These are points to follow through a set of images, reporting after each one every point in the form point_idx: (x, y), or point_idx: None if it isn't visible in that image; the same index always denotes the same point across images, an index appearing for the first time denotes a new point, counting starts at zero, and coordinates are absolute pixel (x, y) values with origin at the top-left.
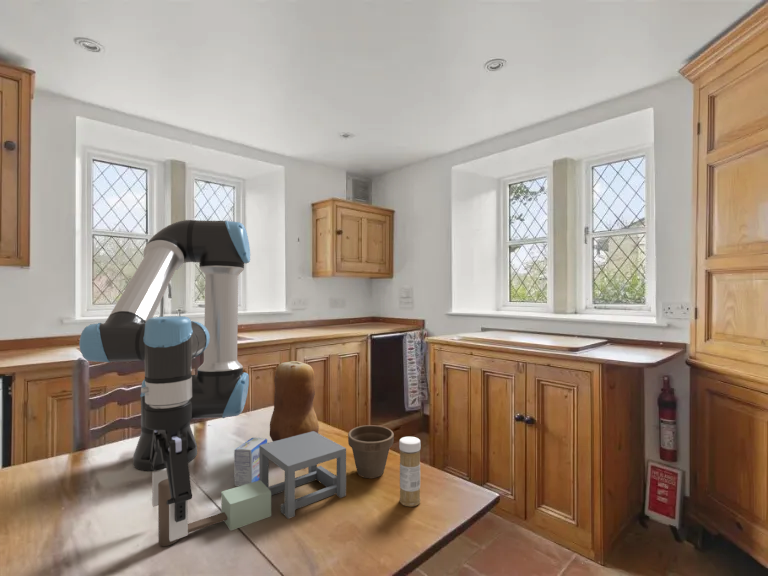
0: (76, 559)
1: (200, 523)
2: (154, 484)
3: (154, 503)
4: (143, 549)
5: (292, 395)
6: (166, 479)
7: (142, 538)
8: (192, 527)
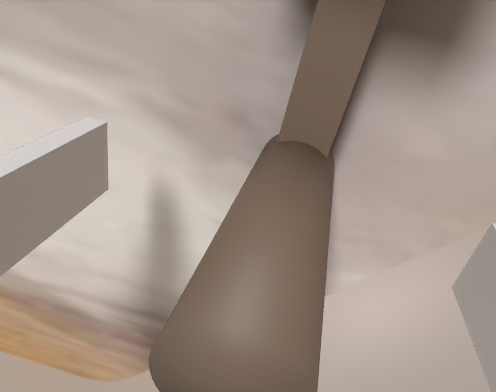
0: None
1: (346, 42)
2: (23, 248)
3: (99, 190)
4: None
5: None
6: (155, 360)
7: (194, 199)
8: (345, 91)
